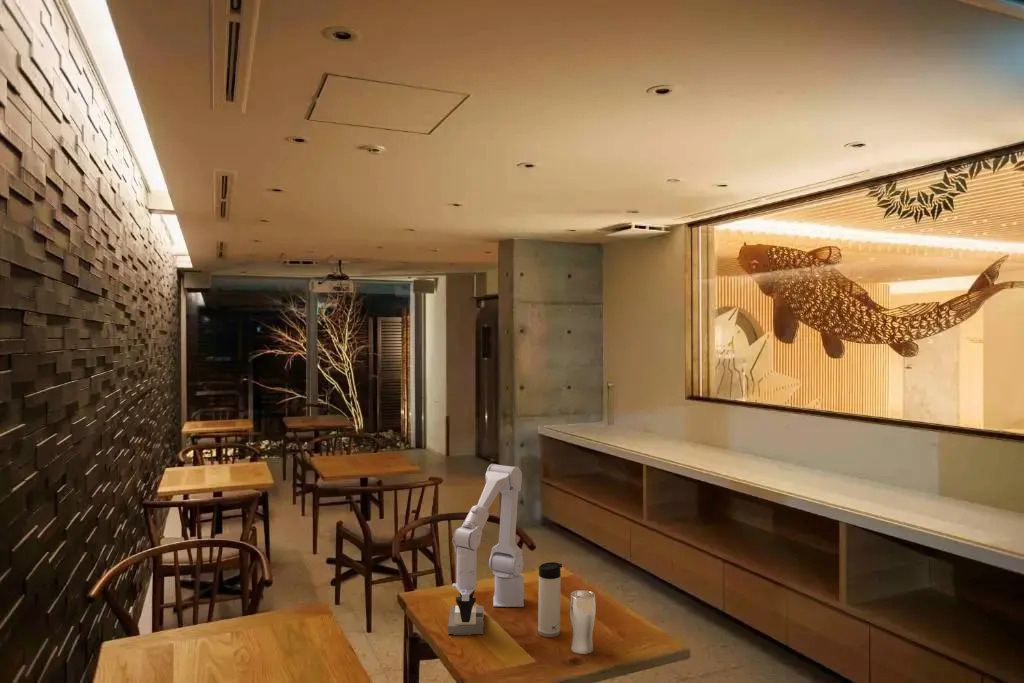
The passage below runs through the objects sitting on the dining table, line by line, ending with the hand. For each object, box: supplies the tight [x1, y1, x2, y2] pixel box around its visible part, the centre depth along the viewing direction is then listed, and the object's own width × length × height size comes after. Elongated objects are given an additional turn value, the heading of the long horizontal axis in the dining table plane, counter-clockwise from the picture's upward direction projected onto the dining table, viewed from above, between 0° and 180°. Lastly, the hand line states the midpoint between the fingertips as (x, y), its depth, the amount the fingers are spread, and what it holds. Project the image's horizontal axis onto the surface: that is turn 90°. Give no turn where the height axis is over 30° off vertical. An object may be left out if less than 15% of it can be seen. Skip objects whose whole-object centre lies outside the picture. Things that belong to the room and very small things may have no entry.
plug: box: [454, 605, 483, 625], centre depth 203 cm, size 8×5×6 cm, turn 93°
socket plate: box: [447, 605, 485, 636], centre depth 206 cm, size 10×14×2 cm
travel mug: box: [537, 561, 563, 638], centre depth 201 cm, size 6×7×20 cm
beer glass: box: [569, 589, 597, 655], centre depth 191 cm, size 7×7×15 cm
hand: (466, 616), depth 203 cm, fingers open, 7 cm apart
